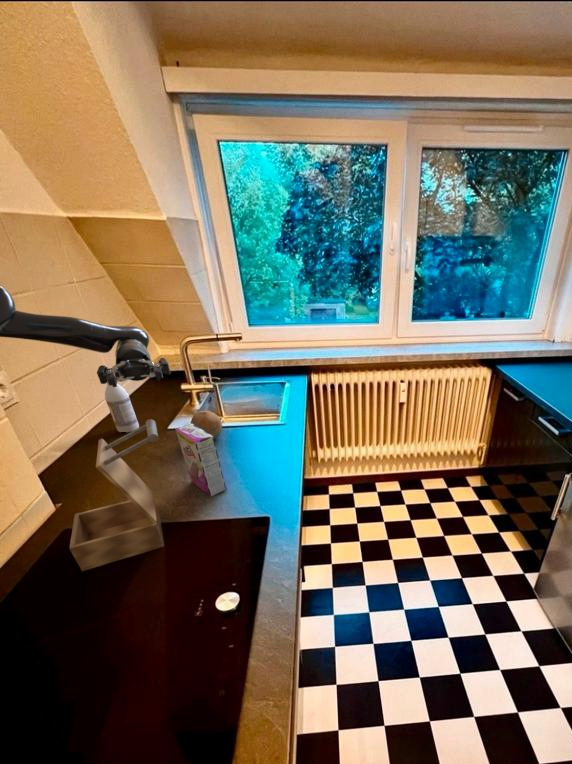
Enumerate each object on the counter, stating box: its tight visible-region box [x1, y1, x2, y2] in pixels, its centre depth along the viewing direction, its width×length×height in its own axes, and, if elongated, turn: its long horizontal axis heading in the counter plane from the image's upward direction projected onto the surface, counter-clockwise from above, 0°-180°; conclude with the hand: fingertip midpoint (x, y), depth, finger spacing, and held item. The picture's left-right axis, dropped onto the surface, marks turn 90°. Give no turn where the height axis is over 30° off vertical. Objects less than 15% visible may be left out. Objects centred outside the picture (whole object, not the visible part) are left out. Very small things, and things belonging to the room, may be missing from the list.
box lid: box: [95, 419, 159, 523], centre depth 82 cm, size 16×13×12 cm
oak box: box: [68, 499, 165, 572], centre depth 85 cm, size 16×13×6 cm
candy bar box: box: [174, 423, 227, 498], centre depth 101 cm, size 11×5×16 cm, turn 47°
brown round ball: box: [190, 410, 223, 440], centre depth 127 cm, size 10×10×10 cm
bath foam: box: [104, 381, 140, 434], centre depth 131 cm, size 7×7×20 cm
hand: (135, 379), depth 82 cm, fingers open, 8 cm apart
